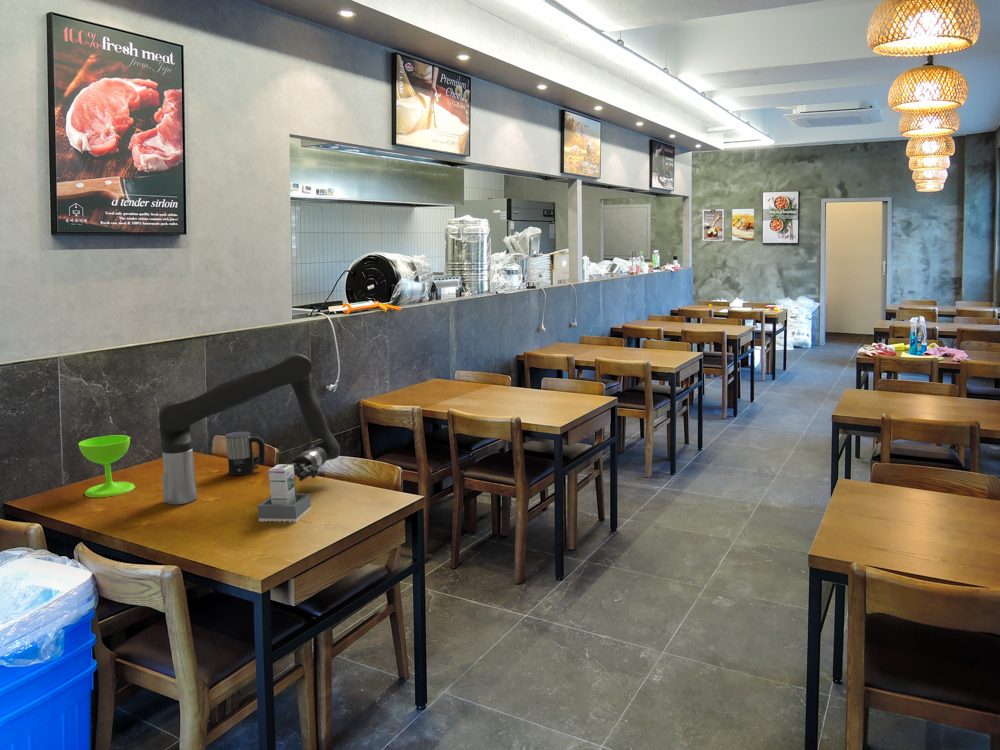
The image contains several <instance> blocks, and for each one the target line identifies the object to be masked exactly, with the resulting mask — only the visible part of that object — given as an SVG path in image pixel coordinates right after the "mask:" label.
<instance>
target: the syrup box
mask: <svg viewBox="0 0 1000 750" xmlns="http://www.w3.org/2000/svg"><path fill="white" fill-rule="evenodd" d="M290 464H291V463H290ZM290 464H289V463H285V464H284V463H283V464H282V463H281V464H276V465H275V466H273V467H271V468H270V469H268V478H269V479H268V480H269V490H270V496H271V502H272V505H293V504H295V503H296V502H297V498H296V494H297V488H296V476H295V475H294V465H290Z"/></svg>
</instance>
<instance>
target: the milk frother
mask: <svg viewBox="0 0 1000 750" xmlns="http://www.w3.org/2000/svg"><path fill="white" fill-rule="evenodd" d="M224 437H225V442H226V453H227V462H228V473H227V474H228V475H230V476H233V475H240V476H245V475H249V474H252V473H254V472H255V469H254V468H255V466H256V465H257V464H259V466H264V465H265V463H266V443H265V441H264V439H263V438H262V437H261V436H258V435H251V432H250V431H235V432H231V433H230V432H229V433H226V434H225V435H224ZM253 443H257V445H258V455H256V456H254V452H253Z"/></svg>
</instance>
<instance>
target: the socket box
mask: <svg viewBox="0 0 1000 750" xmlns="http://www.w3.org/2000/svg"><path fill="white" fill-rule="evenodd" d="M296 498H297V502H296V503H295V504H293V505H272V502H271V495H270V496H269V497H267V498H266V499H264V500H263V501H261V502H260V503H259V504H258V505H257V515H258V522H264V521H265V523H267V521H270V523H272V522H271V521H274V522H275V523H276V521H278V522H277V523H287V522H286V521H289V522H288V523H297V522H298V521H300V520H301V519H302V518H303V517H304V516H305V515H306V514H308V513H309V512H310V511H311V510H310V509H312V505H311V493H296ZM309 510H310V511H309ZM303 515H304V516H303ZM302 516H303V517H302ZM301 517H302V518H301ZM300 518H301V519H300ZM281 521H283V522H281ZM292 521H293V522H292ZM296 521H297V522H296Z"/></svg>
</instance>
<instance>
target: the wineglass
mask: <svg viewBox="0 0 1000 750" xmlns="http://www.w3.org/2000/svg"><path fill="white" fill-rule="evenodd" d="M130 444H131V437H130V436H128V435H122V434H121V435H120V434H119V435H117V434H114V435H103V436H96V437H92V438H91V437H90V438H87V439H84V440H81V441H79V442H78V448H79V451H80V452H81V454H82V456H83V457H85V458H86V459H87V460H88V461H90V462H93V463H95V464H100V465H103V466H104V475H105V482H104V483H102V484H97V485H94V486H92V487H89V488H88V489H86V490H85V491H84V494H85V495H86V496H88V497H107V496H114V495H119V494H122V495H124V494H123V493H126V492H129V491H131V490H133V489H134V488H135V489H136V486H135V484H134V483H131V482H128V481H113V478H112V467H111V464H112V463H114V462H117V461H119V460H120V459H121V458H123V457H124V456H125V455H126V453H127V452H128V450H129V447H130ZM135 489H134V490H135ZM134 490H133V491H134ZM131 492H132V491H131ZM129 493H130V492H129ZM126 494H127V493H126ZM119 496H120V495H119ZM88 497H87V498H88ZM114 497H115V496H114ZM107 498H108V497H107Z"/></svg>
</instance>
